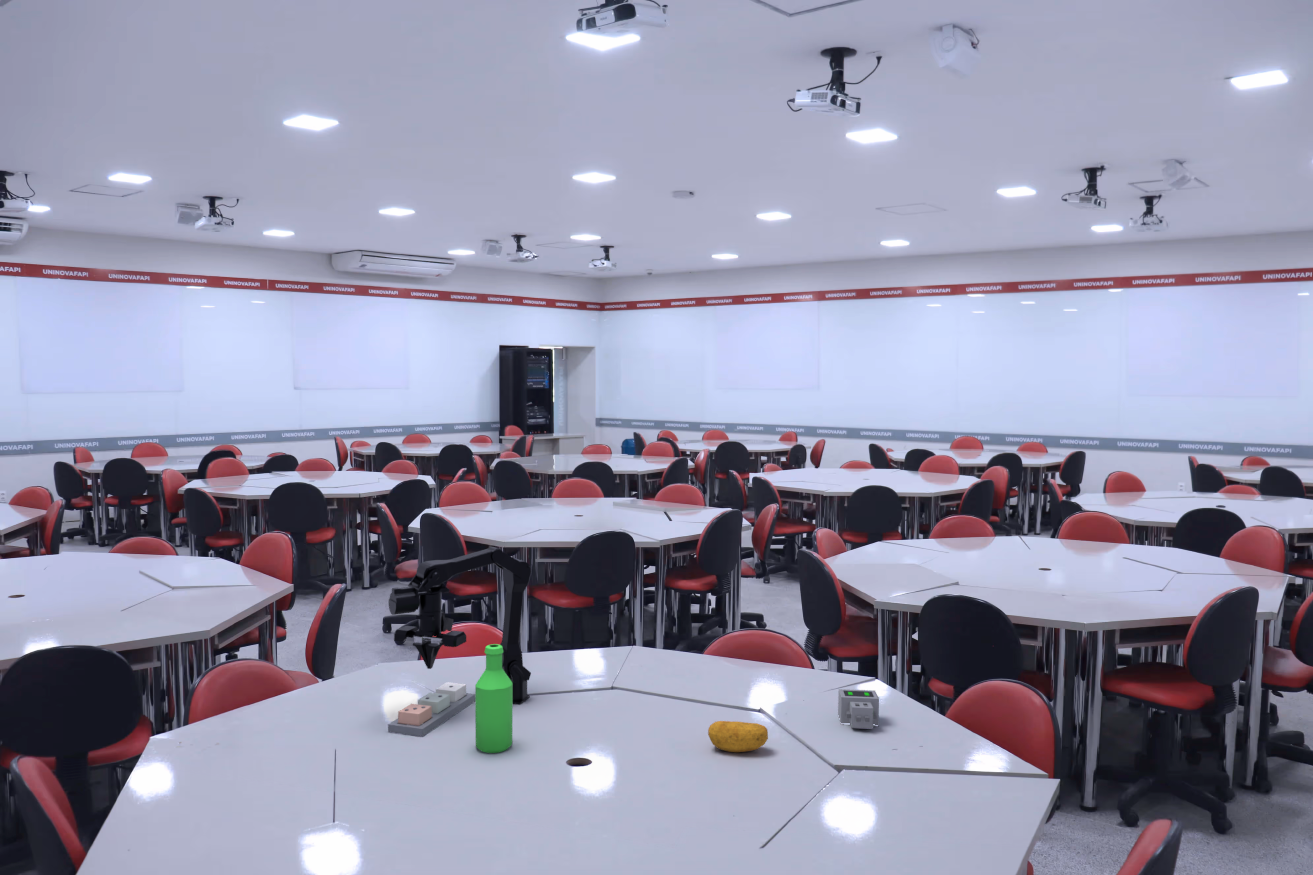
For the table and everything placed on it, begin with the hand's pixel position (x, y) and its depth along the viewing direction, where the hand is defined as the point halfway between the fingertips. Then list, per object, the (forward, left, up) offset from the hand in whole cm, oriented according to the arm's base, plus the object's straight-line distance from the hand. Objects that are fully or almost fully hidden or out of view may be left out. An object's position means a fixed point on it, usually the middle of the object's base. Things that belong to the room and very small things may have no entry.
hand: (429, 668), depth 227 cm
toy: (-109, -31, -14) cm, 114 cm away
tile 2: (0, -2, -11) cm, 11 cm away
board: (0, -2, -13) cm, 13 cm away
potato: (-82, -4, -14) cm, 83 cm away
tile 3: (0, +7, -11) cm, 13 cm away
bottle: (-25, +12, -14) cm, 31 cm away
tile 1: (0, -11, -11) cm, 15 cm away
